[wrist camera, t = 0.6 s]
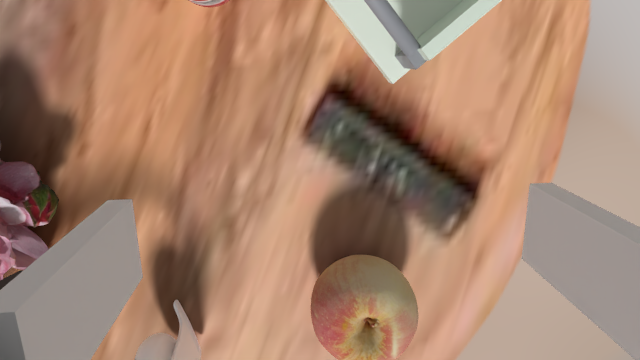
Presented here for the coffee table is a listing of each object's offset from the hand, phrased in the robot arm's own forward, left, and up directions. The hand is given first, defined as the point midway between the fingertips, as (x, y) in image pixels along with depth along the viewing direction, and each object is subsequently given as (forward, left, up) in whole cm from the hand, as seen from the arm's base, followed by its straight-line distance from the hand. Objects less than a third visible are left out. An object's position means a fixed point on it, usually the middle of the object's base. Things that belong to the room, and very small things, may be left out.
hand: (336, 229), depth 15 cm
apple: (+14, -6, -24) cm, 29 cm away
